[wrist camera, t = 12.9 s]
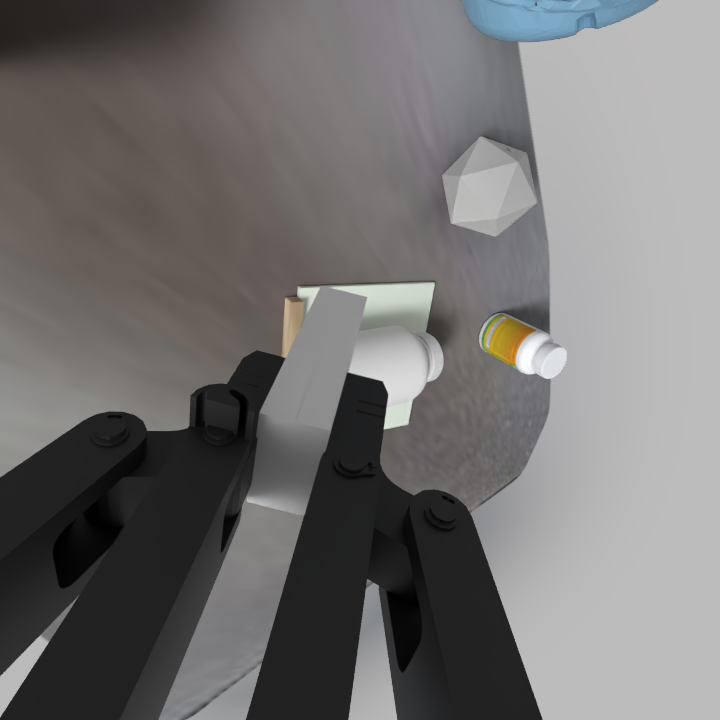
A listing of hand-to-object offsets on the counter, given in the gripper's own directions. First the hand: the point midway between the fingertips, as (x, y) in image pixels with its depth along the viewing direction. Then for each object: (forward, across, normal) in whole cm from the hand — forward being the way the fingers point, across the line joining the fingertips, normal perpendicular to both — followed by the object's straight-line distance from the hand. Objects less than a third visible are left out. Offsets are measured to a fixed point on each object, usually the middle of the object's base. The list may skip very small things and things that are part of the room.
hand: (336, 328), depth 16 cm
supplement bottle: (+44, +17, -20) cm, 51 cm away
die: (+40, +7, -3) cm, 41 cm away
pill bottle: (+22, -3, -19) cm, 29 cm away
